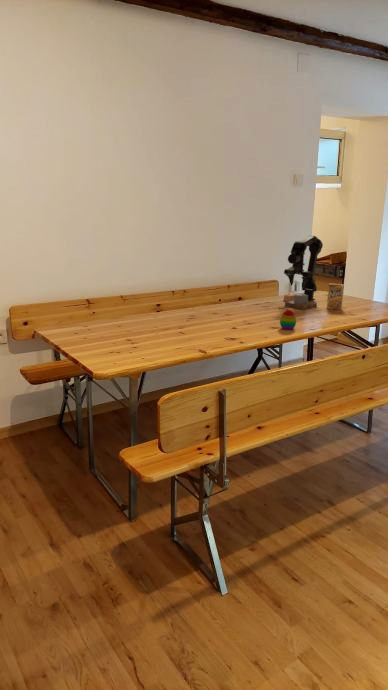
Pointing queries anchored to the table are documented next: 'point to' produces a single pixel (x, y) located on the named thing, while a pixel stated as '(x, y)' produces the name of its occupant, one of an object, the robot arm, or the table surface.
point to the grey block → (301, 298)
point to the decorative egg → (288, 320)
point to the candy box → (335, 296)
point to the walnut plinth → (301, 305)
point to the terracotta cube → (289, 297)
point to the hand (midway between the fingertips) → (297, 286)
